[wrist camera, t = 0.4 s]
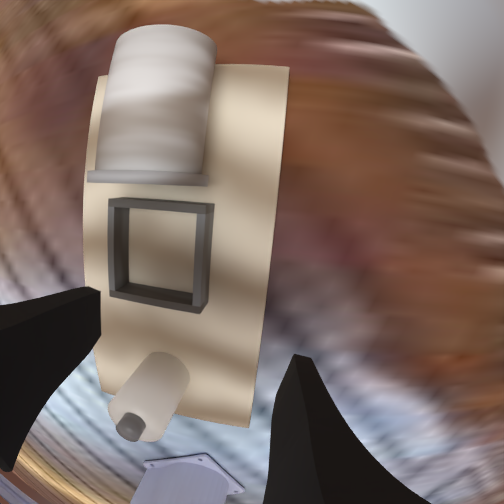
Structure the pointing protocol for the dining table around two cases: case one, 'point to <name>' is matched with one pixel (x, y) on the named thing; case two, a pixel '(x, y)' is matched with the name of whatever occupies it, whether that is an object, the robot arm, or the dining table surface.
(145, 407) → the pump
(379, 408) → the dining table surface
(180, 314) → the motor mount
